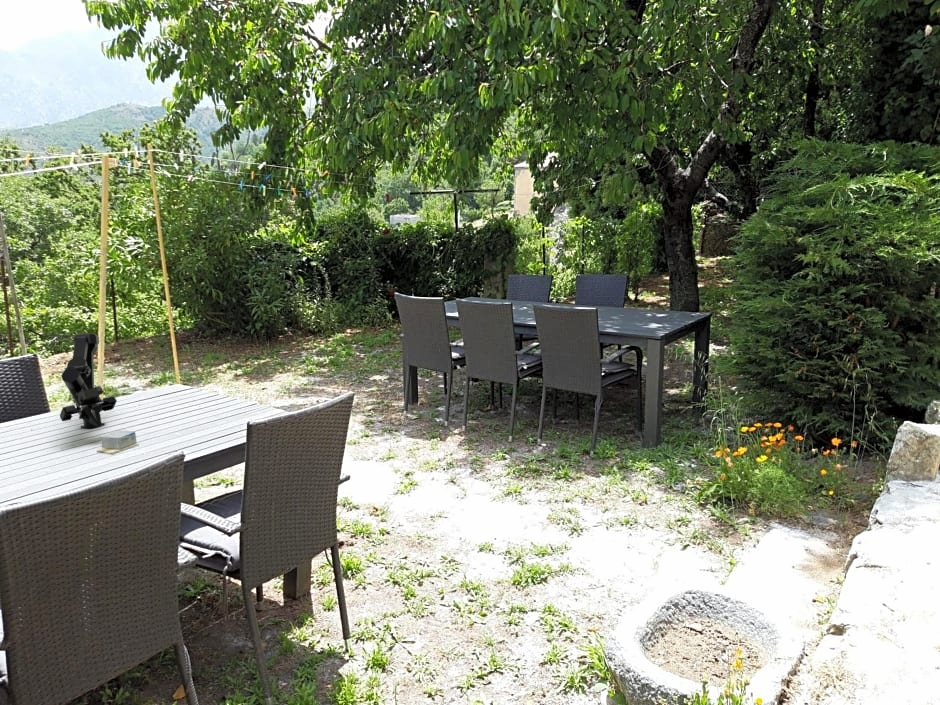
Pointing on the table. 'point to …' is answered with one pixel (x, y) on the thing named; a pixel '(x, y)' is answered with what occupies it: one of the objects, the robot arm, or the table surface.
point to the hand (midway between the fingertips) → (98, 426)
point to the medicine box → (118, 439)
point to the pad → (113, 451)
